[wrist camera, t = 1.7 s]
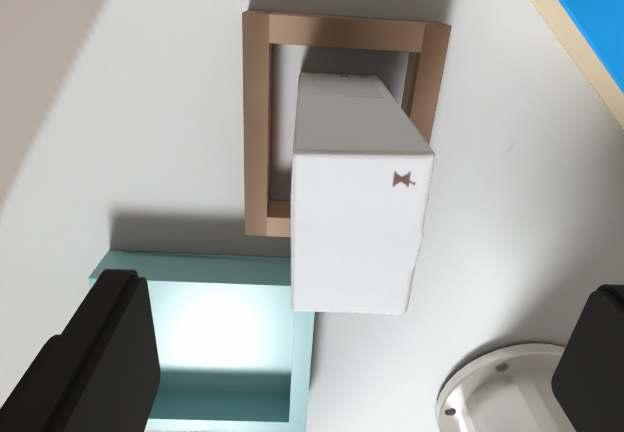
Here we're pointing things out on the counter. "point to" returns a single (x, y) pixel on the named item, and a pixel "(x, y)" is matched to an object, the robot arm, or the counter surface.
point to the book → (592, 43)
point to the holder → (328, 33)
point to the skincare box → (355, 196)
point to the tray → (224, 341)
